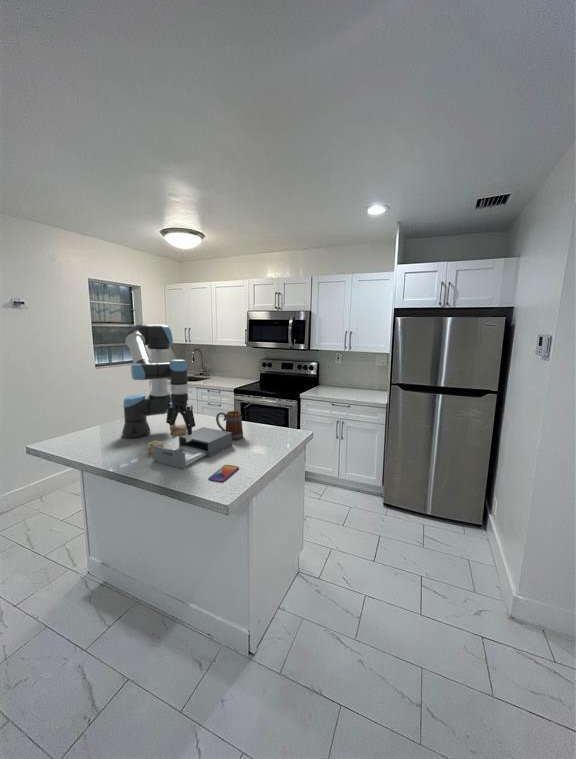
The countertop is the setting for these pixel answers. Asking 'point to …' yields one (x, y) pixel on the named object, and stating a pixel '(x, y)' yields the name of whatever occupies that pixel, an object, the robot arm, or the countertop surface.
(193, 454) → the gray drawer
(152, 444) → the block
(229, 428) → the mug
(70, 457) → the countertop surface
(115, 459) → the countertop surface
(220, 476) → the smartphone
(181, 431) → the tan flat lump
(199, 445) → the grey drawer box
